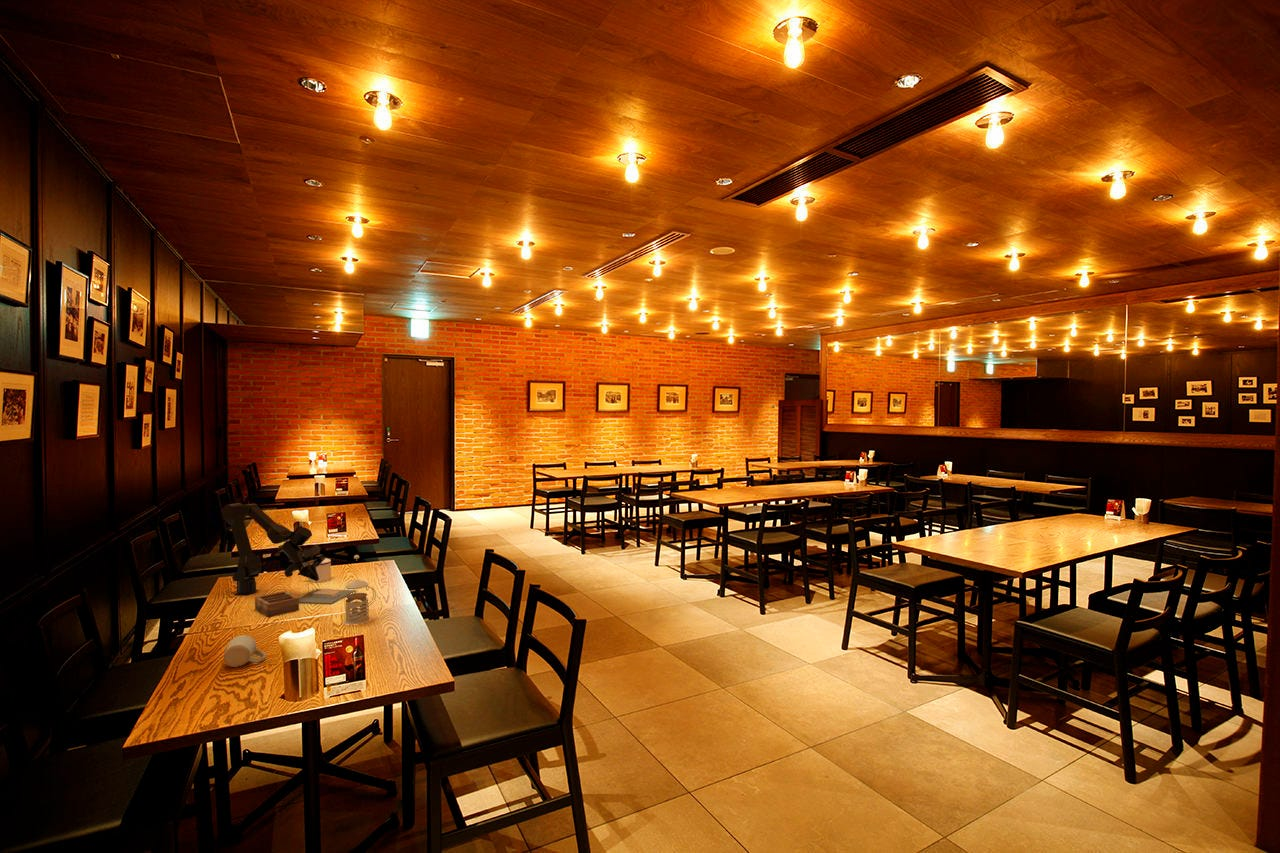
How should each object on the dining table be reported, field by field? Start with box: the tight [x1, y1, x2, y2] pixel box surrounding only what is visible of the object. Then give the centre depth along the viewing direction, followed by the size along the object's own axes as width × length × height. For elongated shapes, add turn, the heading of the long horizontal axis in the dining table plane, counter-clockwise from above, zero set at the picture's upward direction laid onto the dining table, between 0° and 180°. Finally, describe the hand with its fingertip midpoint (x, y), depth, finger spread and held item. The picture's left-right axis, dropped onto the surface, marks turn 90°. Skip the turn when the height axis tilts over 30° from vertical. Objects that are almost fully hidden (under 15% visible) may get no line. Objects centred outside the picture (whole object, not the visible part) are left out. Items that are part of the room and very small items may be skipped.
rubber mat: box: [298, 588, 357, 605], centre depth 257 cm, size 18×18×1 cm
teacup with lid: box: [309, 557, 332, 583], centre depth 282 cm, size 12×9×12 cm
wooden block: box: [313, 588, 342, 599], centre depth 255 cm, size 2×6×9 cm
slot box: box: [254, 590, 300, 618], centre depth 239 cm, size 14×11×5 cm
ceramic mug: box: [223, 634, 266, 668], centre depth 189 cm, size 11×8×8 cm
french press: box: [342, 554, 377, 626], centre depth 228 cm, size 10×12×25 cm
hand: (317, 580), depth 256 cm, fingers closed
